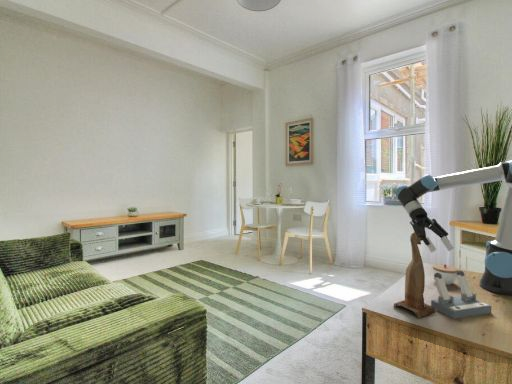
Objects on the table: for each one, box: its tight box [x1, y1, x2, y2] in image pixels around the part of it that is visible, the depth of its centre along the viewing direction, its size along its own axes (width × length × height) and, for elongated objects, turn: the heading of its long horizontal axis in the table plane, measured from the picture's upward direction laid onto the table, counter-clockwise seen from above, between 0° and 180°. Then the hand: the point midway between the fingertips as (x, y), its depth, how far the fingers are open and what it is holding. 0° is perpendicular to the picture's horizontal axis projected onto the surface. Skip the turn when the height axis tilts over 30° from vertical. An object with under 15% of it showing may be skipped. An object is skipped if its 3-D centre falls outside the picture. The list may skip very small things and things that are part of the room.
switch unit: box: [430, 291, 492, 320], centre depth 112 cm, size 10×19×6 cm, turn 105°
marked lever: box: [456, 269, 474, 299], centre depth 117 cm, size 3×4×12 cm
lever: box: [433, 273, 451, 303], centre depth 114 cm, size 3×4×12 cm
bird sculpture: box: [393, 231, 436, 320], centre depth 112 cm, size 11×12×32 cm
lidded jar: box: [432, 264, 459, 286], centre depth 142 cm, size 11×11×9 cm
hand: (442, 250), depth 126 cm, fingers open, 9 cm apart
